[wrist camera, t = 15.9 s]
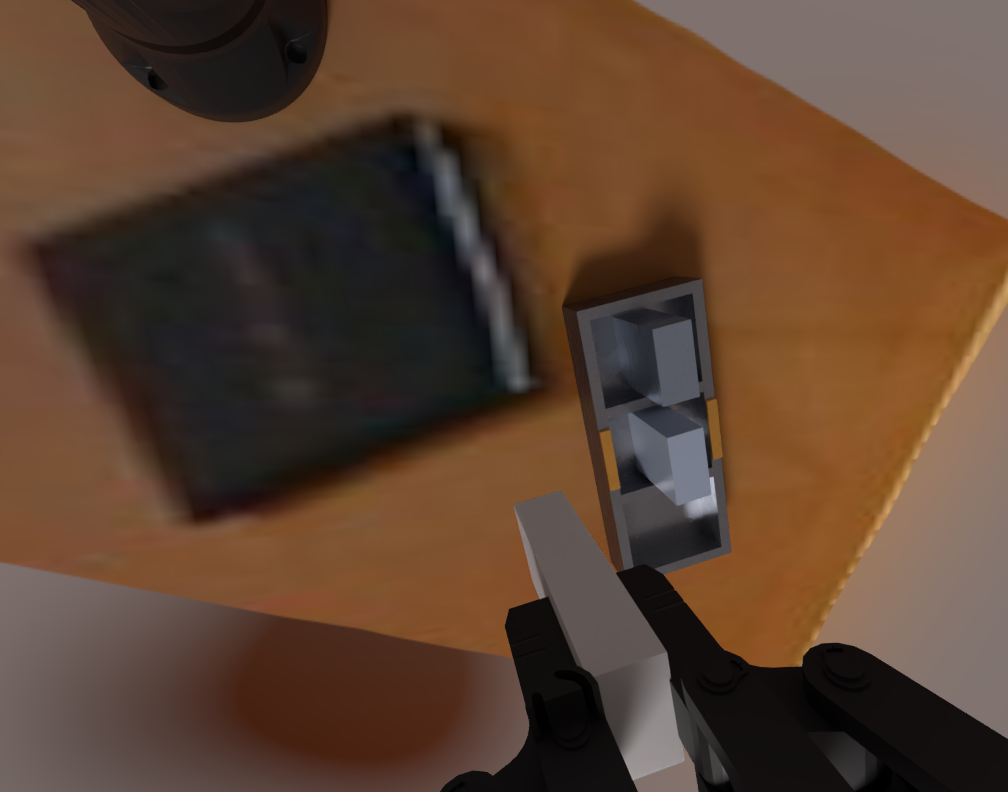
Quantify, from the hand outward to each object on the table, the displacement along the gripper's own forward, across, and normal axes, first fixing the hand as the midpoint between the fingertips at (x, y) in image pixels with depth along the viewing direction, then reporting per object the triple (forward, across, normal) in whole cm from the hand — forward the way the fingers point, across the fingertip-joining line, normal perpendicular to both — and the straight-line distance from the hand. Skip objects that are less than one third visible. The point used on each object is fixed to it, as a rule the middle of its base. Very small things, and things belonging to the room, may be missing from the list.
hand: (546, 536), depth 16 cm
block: (+31, +16, -13) cm, 38 cm away
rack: (+32, +16, -13) cm, 38 cm away
